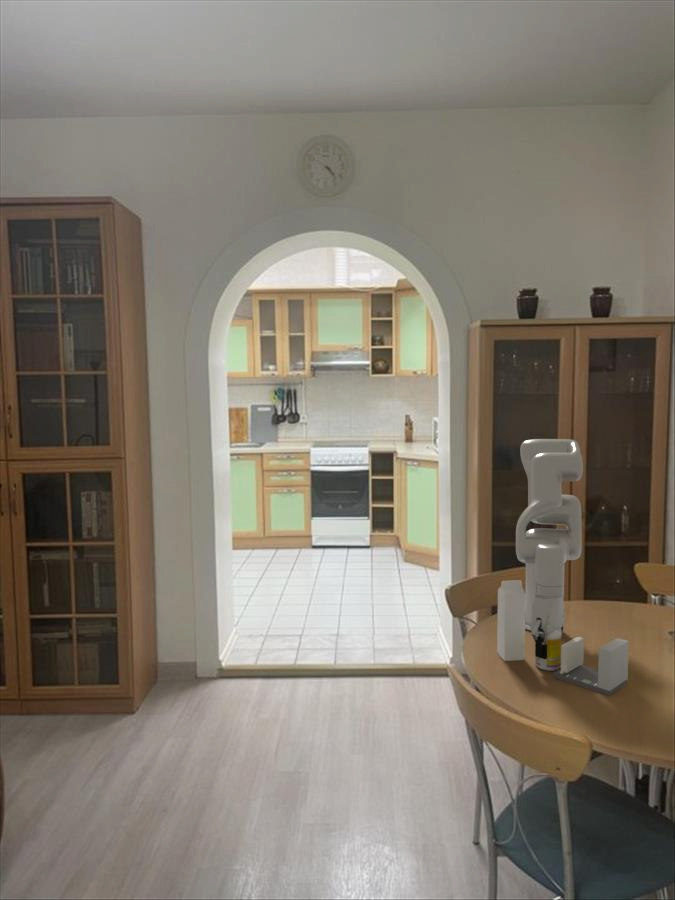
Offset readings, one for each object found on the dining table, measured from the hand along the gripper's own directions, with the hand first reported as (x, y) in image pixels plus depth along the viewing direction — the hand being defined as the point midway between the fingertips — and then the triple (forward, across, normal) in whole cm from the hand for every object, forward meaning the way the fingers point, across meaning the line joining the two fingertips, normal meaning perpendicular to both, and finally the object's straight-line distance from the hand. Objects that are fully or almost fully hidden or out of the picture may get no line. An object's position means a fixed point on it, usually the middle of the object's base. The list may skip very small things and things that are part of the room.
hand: (548, 653), depth 181 cm
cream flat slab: (+2, +1, +7) cm, 7 cm away
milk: (+4, +1, -11) cm, 12 cm away
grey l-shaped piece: (+4, 0, +12) cm, 13 cm away
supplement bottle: (+4, 0, 0) cm, 4 cm away
